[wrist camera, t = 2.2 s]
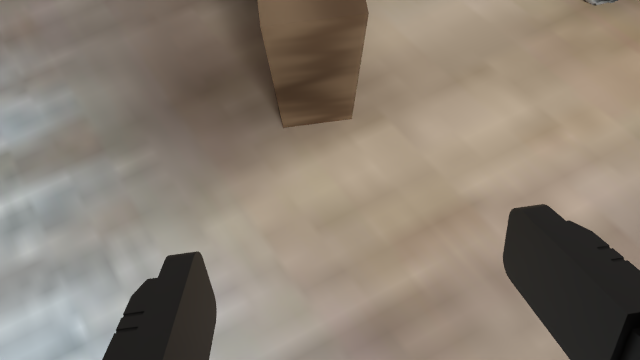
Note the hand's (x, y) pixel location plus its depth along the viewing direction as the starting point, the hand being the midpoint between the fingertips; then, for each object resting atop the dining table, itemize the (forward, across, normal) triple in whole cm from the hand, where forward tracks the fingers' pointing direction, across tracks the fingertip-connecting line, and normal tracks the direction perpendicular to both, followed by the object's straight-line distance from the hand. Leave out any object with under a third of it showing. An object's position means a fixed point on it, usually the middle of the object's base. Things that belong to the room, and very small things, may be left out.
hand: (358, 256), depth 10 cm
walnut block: (+21, 0, +1) cm, 21 cm away
